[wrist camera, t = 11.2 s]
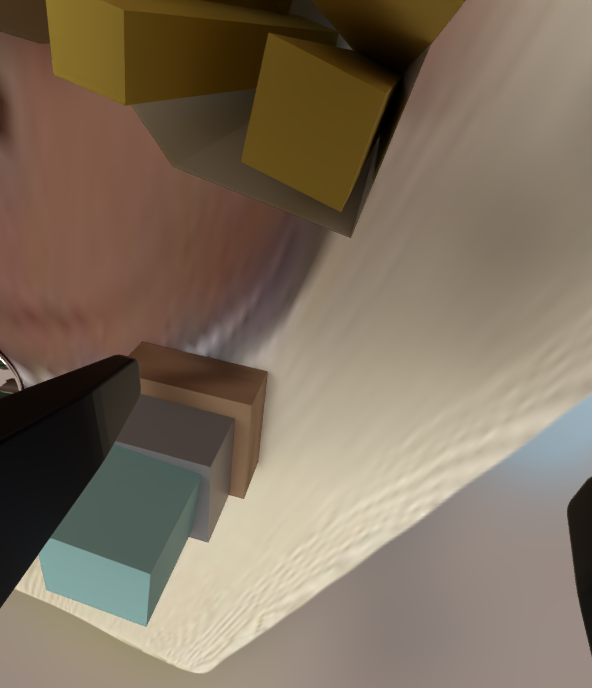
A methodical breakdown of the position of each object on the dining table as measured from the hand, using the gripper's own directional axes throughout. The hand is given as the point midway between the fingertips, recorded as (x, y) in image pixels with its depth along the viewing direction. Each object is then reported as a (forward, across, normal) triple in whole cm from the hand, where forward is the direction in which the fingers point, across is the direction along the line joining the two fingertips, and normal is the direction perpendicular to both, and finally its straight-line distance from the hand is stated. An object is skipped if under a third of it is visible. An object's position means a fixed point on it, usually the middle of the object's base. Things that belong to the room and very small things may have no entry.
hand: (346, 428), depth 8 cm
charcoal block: (+10, +8, +14) cm, 19 cm away
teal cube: (+6, +8, +14) cm, 17 cm away
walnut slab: (+14, +8, +14) cm, 21 cm away
